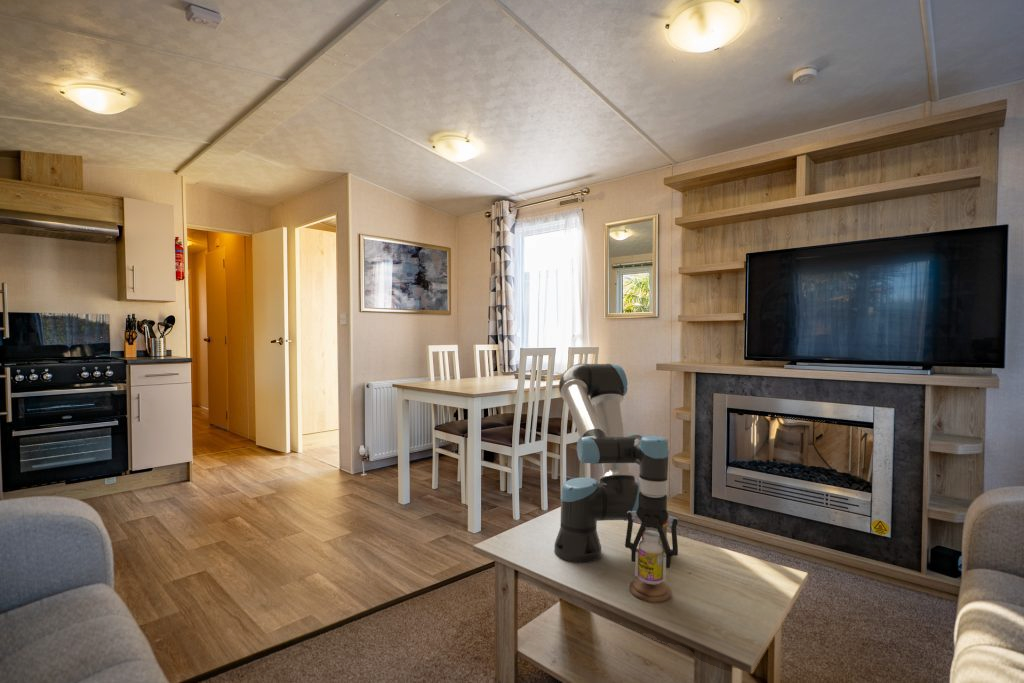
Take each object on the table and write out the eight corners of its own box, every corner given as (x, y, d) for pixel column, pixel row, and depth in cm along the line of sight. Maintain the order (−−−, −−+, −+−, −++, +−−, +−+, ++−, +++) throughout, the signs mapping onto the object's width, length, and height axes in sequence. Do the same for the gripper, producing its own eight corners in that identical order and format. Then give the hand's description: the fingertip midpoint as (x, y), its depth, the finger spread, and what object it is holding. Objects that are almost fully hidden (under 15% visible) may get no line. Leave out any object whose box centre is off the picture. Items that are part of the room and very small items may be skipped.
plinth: (627, 597, 135) (627, 590, 135) (631, 579, 145) (632, 572, 145) (670, 606, 131) (670, 598, 131) (671, 586, 142) (671, 579, 142)
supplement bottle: (632, 578, 139) (634, 532, 139) (647, 571, 143) (648, 526, 143) (653, 588, 134) (654, 540, 133) (667, 580, 138) (669, 534, 138)
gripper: (690, 493, 138) (688, 576, 138) (618, 484, 145) (616, 563, 145) (690, 502, 131) (687, 589, 131) (615, 492, 138) (612, 575, 138)
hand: (650, 575), depth 138 cm, fingers closed on supplement bottle, 7 cm apart
